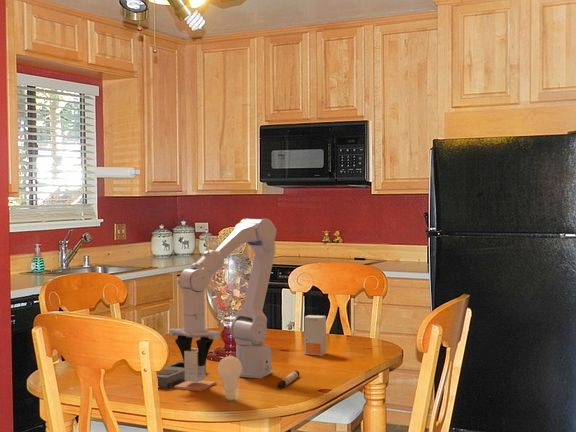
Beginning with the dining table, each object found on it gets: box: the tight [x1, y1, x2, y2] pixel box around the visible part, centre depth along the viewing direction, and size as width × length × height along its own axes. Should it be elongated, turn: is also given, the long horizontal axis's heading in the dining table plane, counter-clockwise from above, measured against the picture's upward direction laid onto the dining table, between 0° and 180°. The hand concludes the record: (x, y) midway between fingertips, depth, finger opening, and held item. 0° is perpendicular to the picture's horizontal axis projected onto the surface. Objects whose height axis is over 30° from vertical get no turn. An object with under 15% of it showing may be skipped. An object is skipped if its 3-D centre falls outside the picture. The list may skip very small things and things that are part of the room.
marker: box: [276, 370, 301, 389], centre depth 212 cm, size 15×2×2 cm, turn 161°
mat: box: [173, 380, 217, 392], centre depth 209 cm, size 8×8×1 cm
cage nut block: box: [184, 347, 206, 382], centre depth 209 cm, size 4×4×8 cm
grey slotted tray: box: [157, 359, 207, 390], centre depth 218 cm, size 8×20×3 cm, turn 156°
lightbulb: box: [216, 355, 242, 401], centre depth 195 cm, size 6×6×11 cm
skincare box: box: [303, 314, 327, 357], centre depth 248 cm, size 6×4×12 cm
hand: (194, 364), depth 209 cm, fingers closed on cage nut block, 4 cm apart
